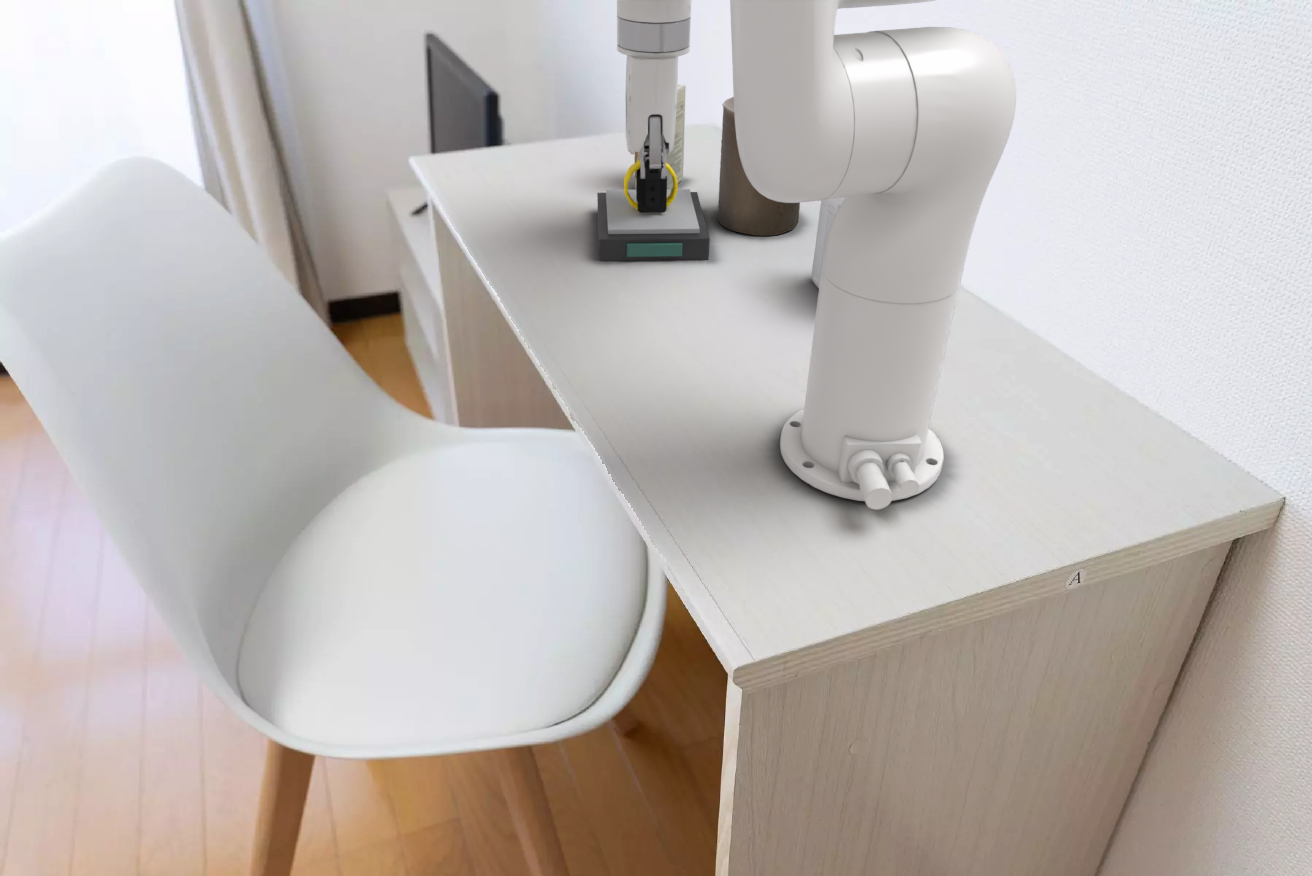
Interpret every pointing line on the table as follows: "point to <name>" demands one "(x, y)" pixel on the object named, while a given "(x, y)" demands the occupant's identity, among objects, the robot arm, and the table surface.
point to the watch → (635, 168)
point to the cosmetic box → (676, 141)
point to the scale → (651, 229)
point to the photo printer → (824, 234)
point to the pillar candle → (747, 191)
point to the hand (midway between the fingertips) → (651, 205)
